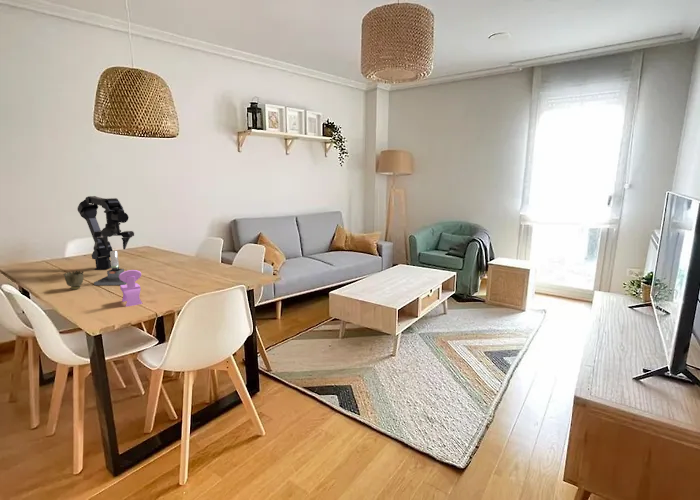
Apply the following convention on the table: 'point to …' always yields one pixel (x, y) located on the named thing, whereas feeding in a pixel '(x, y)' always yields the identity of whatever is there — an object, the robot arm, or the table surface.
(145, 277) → the table surface
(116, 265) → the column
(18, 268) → the table surface
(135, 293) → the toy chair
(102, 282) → the stand
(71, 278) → the cup
